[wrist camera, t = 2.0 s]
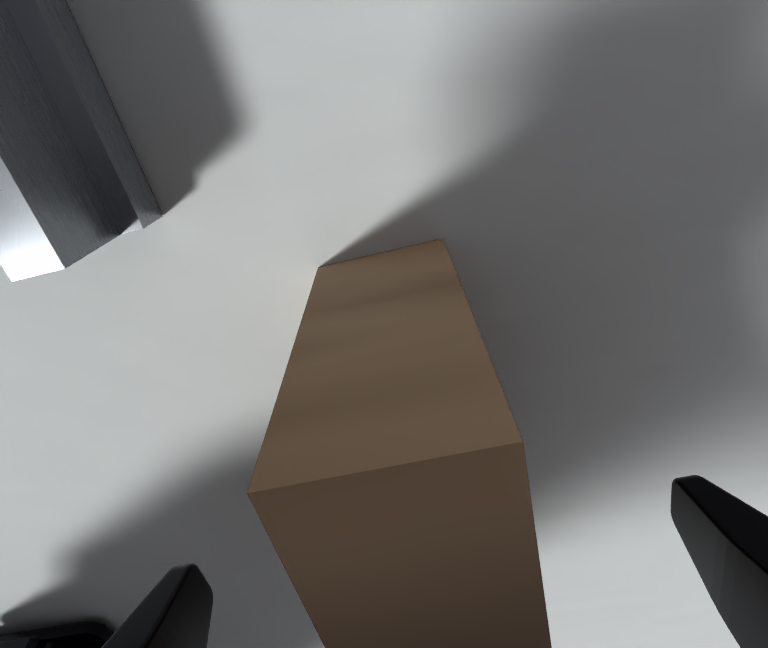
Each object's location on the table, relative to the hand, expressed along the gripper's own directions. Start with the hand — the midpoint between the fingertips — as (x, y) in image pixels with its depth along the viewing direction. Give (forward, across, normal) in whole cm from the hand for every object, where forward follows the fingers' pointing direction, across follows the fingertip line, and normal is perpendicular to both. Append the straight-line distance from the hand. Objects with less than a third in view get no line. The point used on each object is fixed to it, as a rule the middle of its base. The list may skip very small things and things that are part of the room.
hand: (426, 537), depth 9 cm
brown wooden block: (+5, 0, 0) cm, 5 cm away
